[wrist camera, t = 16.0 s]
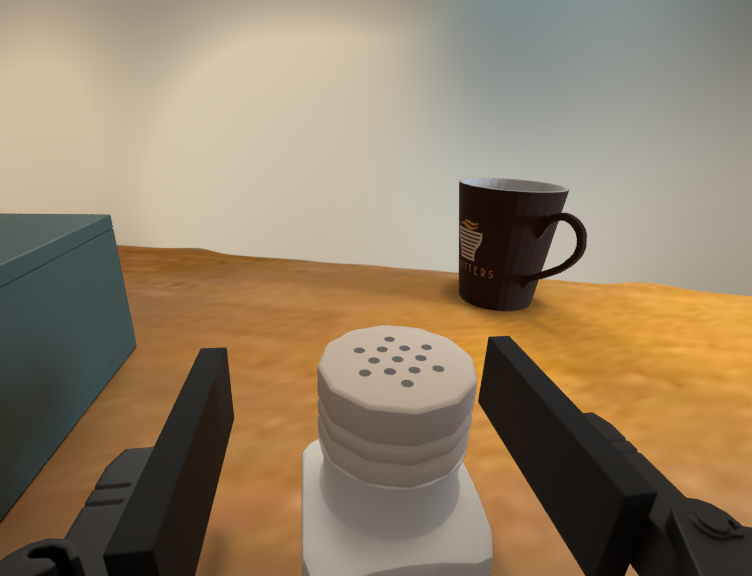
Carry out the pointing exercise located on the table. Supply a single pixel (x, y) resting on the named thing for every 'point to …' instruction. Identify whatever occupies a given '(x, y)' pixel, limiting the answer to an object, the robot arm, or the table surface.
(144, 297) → the table surface
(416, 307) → the table surface
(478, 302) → the coffee mug
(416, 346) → the pepper shaker
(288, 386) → the table surface
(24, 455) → the cabinet
